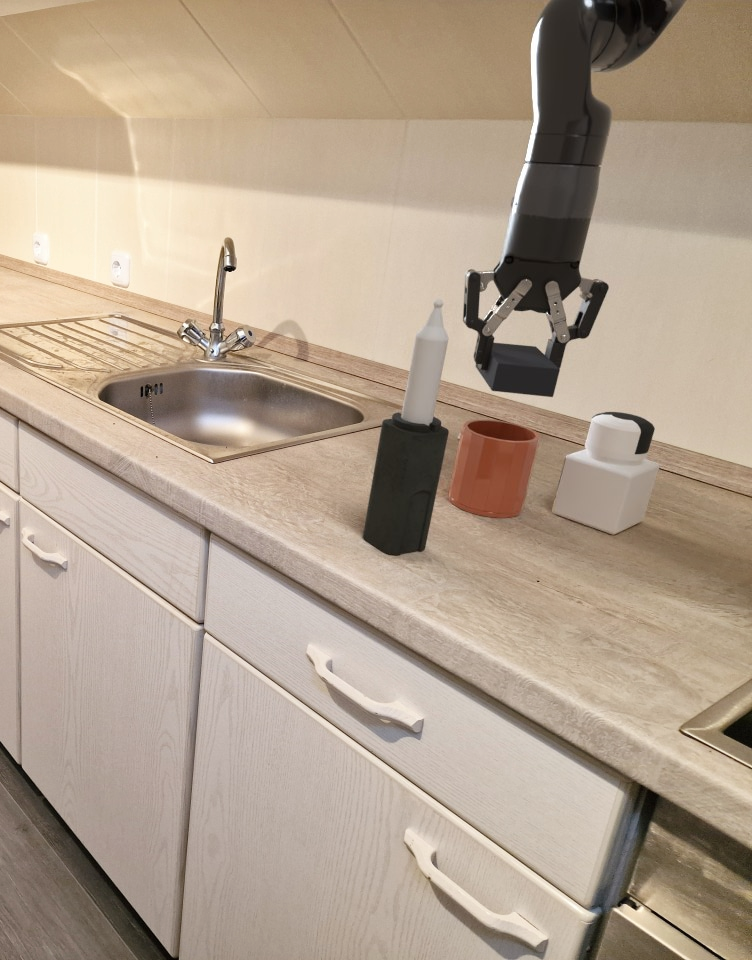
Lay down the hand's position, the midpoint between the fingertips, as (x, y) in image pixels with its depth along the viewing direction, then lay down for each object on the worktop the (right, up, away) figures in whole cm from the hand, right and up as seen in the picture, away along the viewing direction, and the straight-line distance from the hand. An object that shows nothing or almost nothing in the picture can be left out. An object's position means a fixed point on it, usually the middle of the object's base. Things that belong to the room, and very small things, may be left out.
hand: (514, 371), depth 93 cm
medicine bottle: (+11, -16, +4) cm, 20 cm away
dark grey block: (0, -1, 0) cm, 1 cm away
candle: (-15, -19, -5) cm, 24 cm away
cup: (-1, -15, +6) cm, 16 cm away
